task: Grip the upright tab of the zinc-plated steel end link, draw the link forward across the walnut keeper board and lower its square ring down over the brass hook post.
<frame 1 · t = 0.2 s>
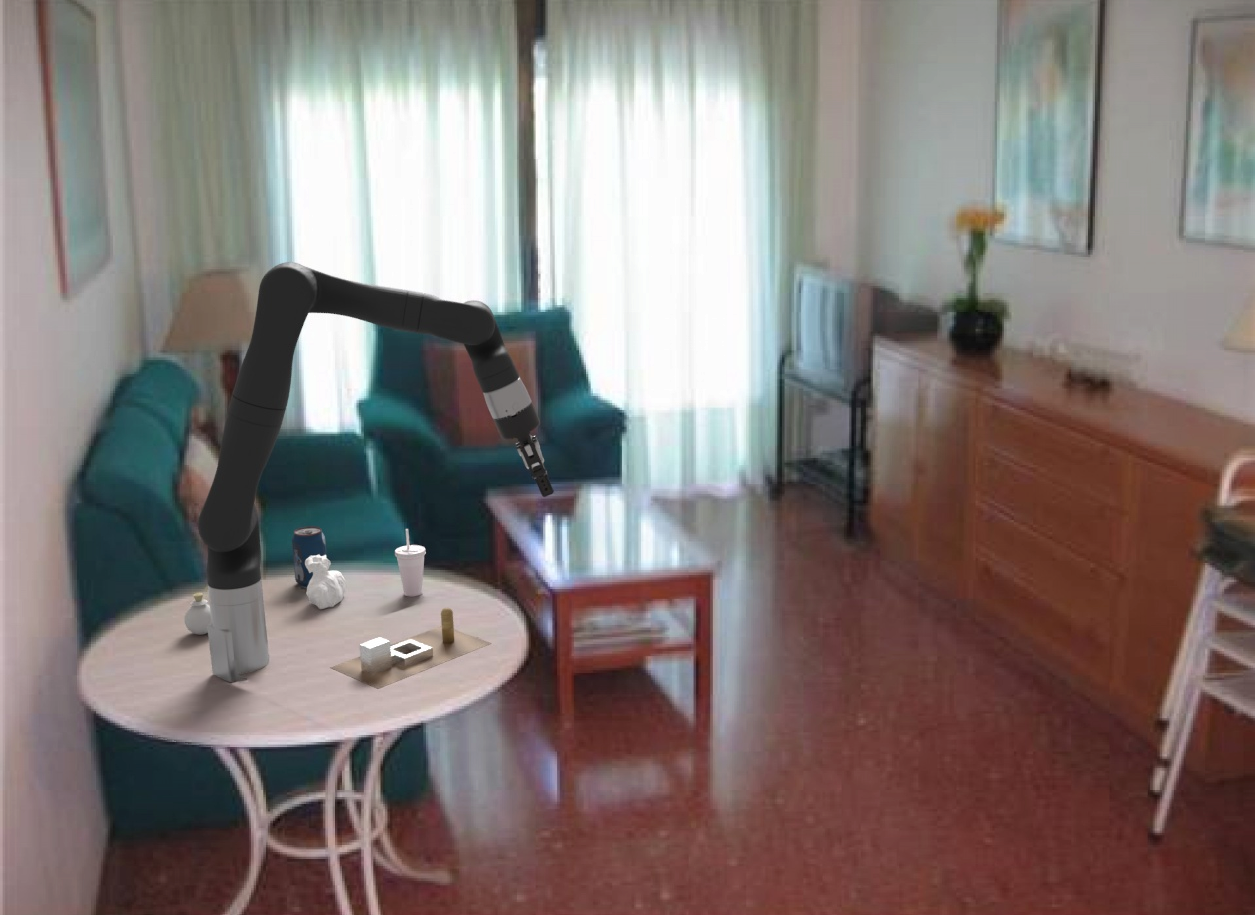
hand: (546, 488, 233), 31 cm above the table, tool tilted 20°, fingers open, 8 cm apart
keeper board: (413, 662, 236), on the table
soda can: (312, 584, 279), on the table
white tied bag: (325, 603, 268), on the table
smoothie: (413, 594, 272), on the table
white potion bottle: (205, 634, 252), on the table
steel link: (408, 656, 235), point 1 cm above the table, touching keeper board
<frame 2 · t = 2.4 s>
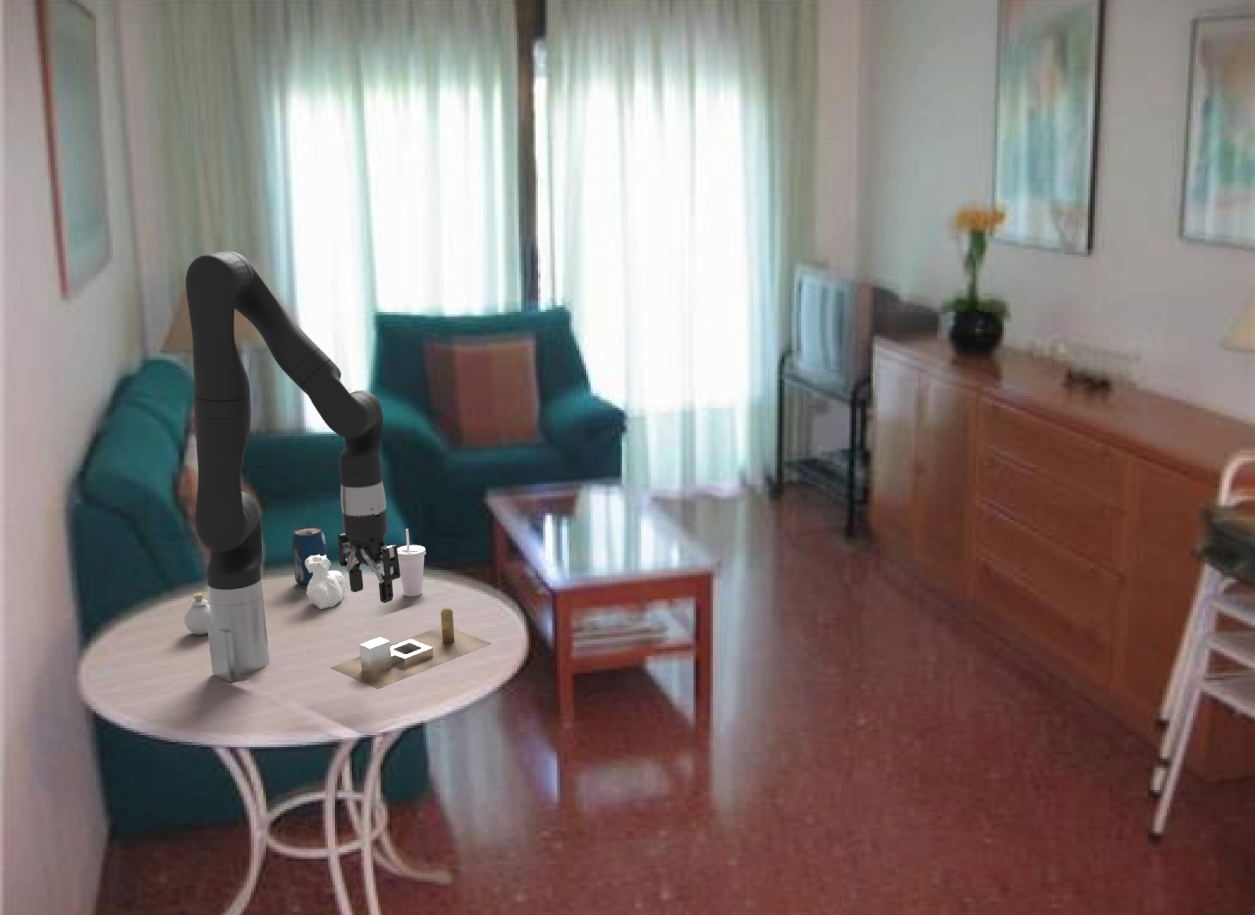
hand: (371, 596, 227), 15 cm above the table, tool pointing down, fingers open, 8 cm apart
nothing on the table moved.
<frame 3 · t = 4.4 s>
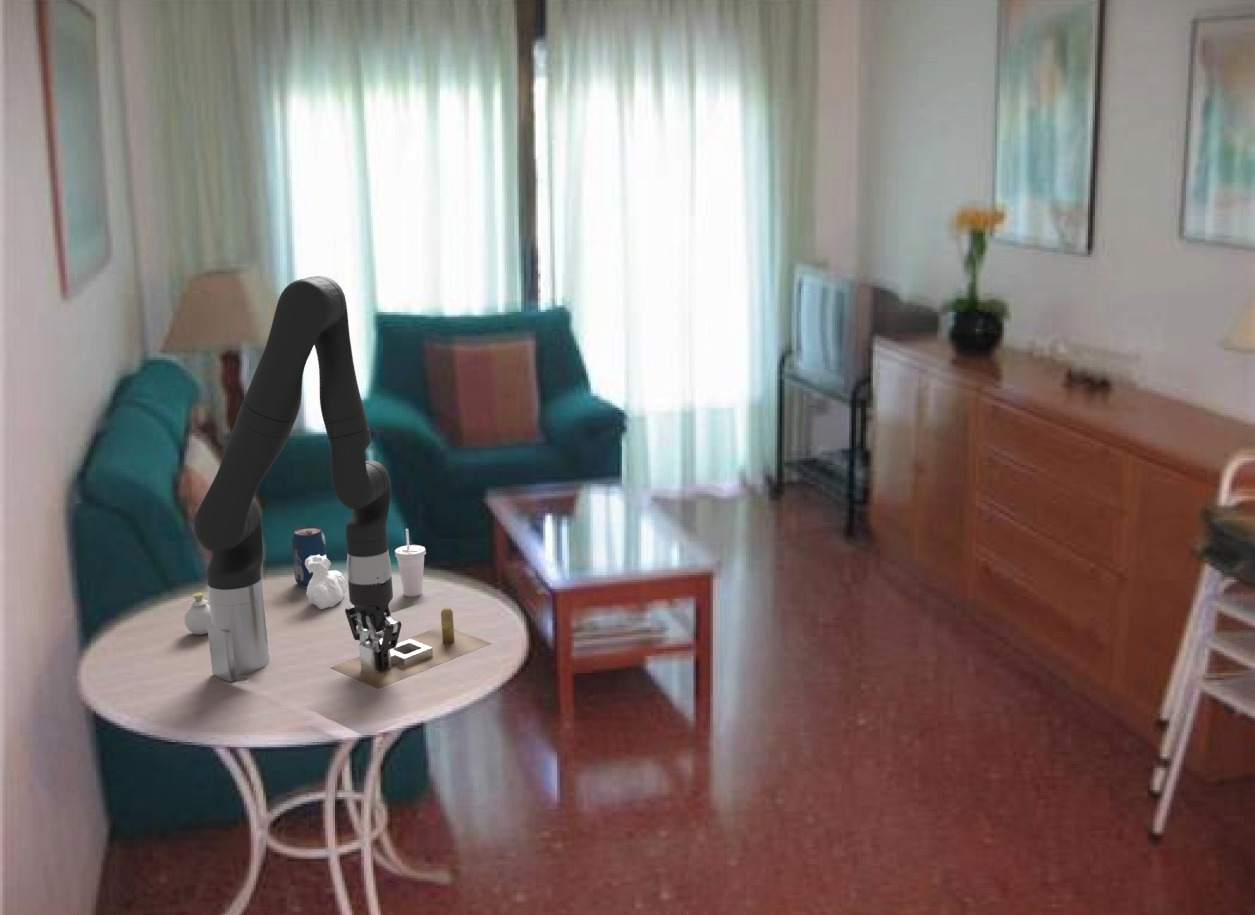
hand: (376, 666, 230), 2 cm above the table, tool pointing down, fingers closed on steel link, 3 cm apart
steel link: (407, 656, 235), point 2 cm above the table, touching gripper, keeper board
everything else where it was.
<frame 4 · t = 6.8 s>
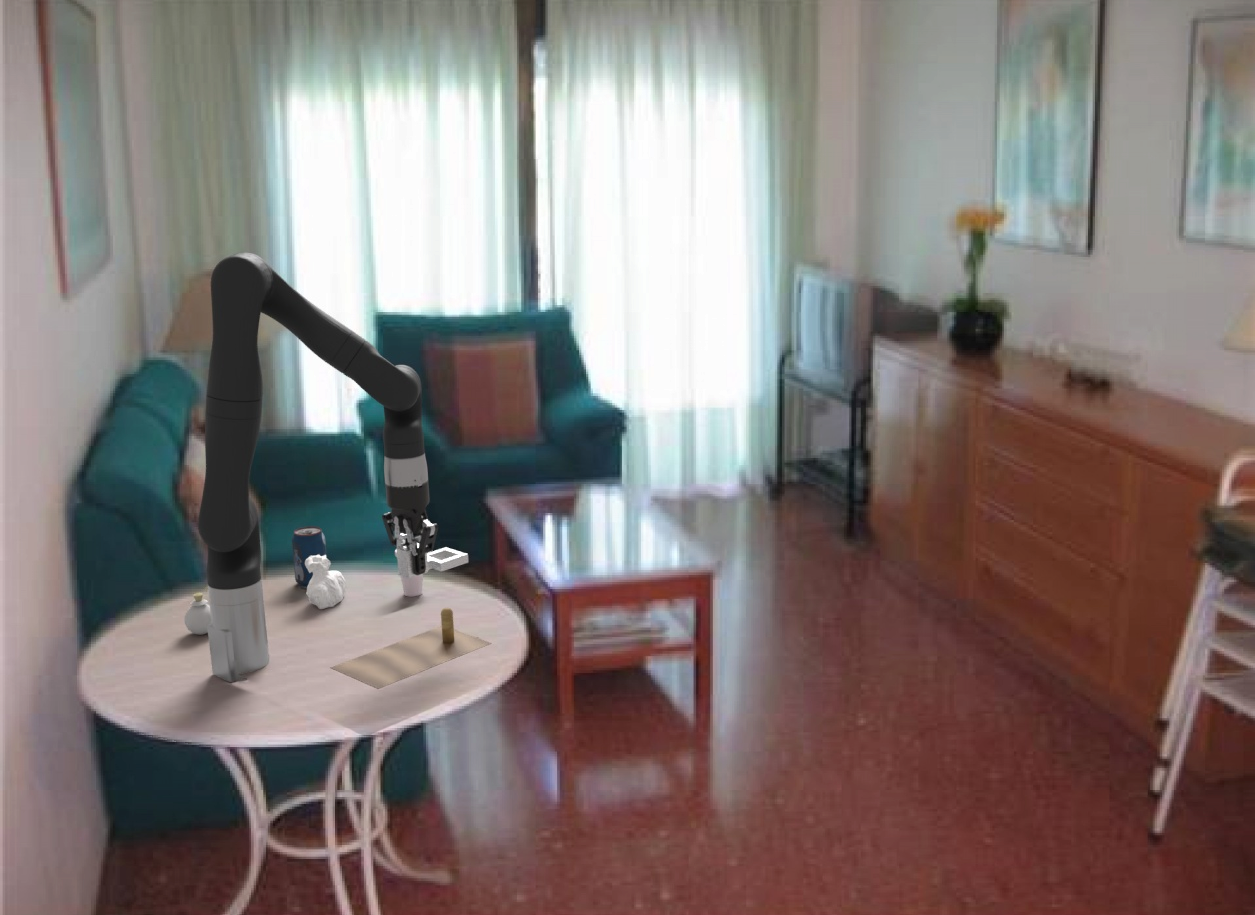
hand: (413, 571, 233), 17 cm above the table, tool pointing down, fingers closed on steel link, 3 cm apart
steel link: (443, 563, 238), point 17 cm above the table, touching gripper
everything else where it was.
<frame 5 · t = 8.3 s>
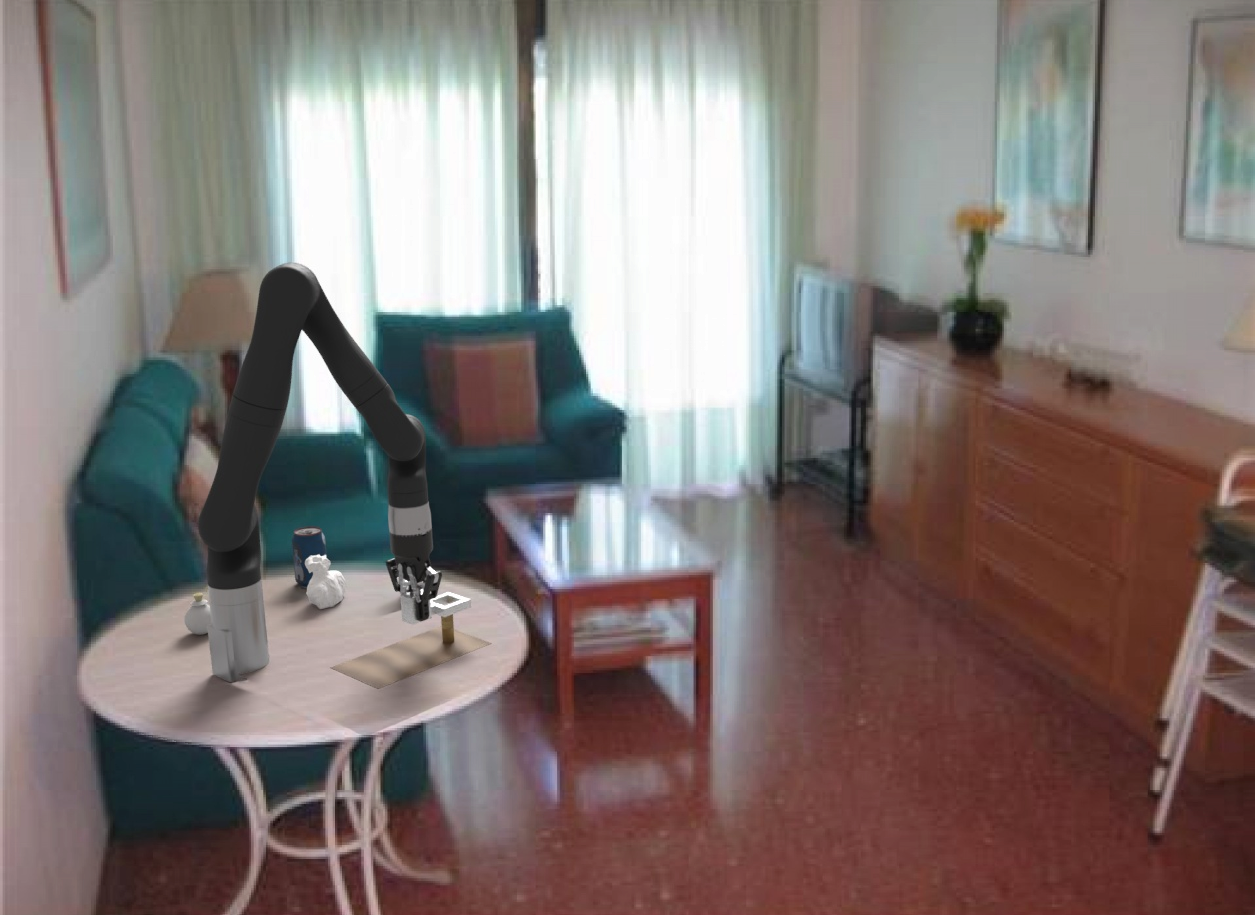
hand: (416, 617, 235), 8 cm above the table, tool pointing down, fingers closed on steel link, 3 cm apart
steel link: (446, 608, 240), point 8 cm above the table, touching gripper
everything else where it was.
when the fingers open (3 cm above the table, at t = 9.7 s): steel link stays where it is, resting on keeper board.
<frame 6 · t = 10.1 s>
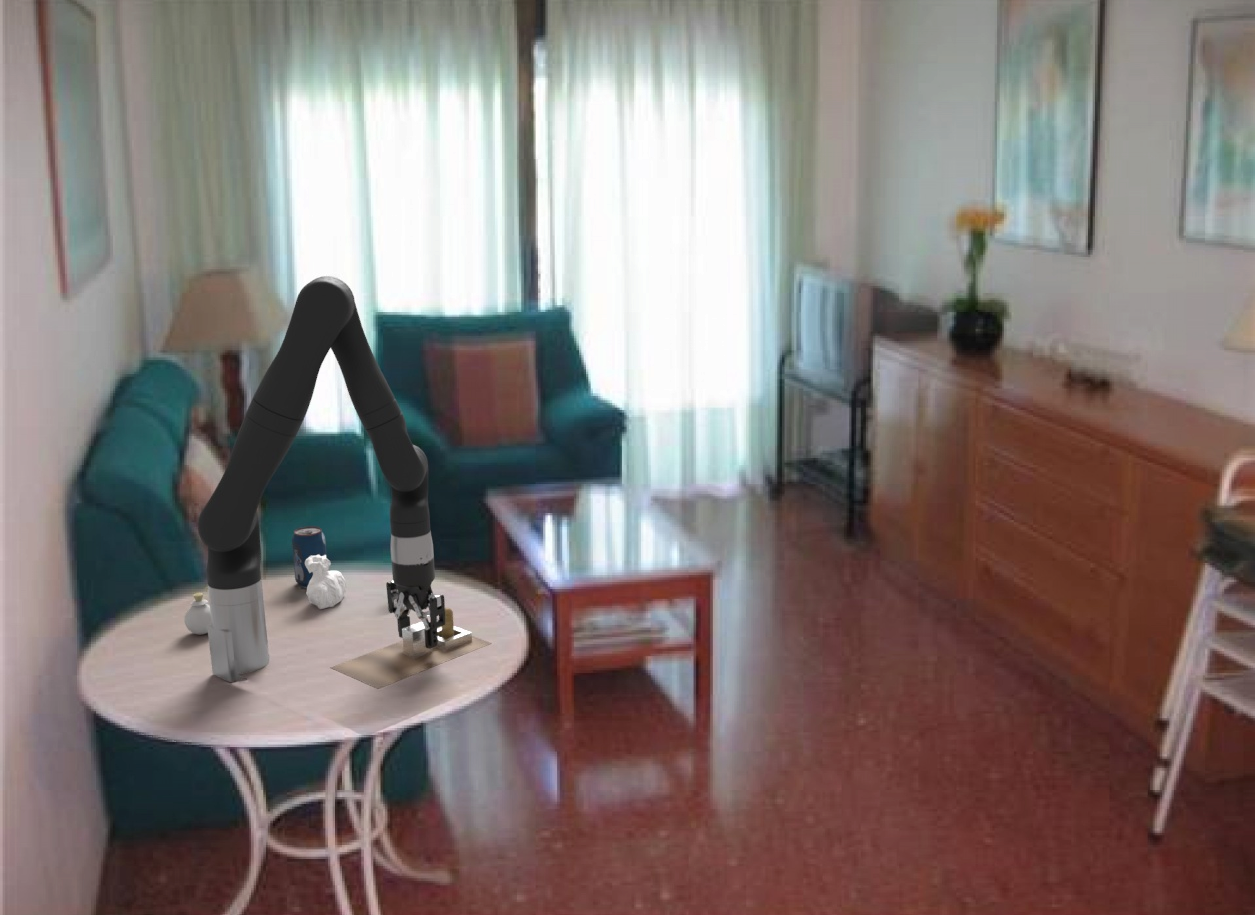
hand: (418, 641, 236), 4 cm above the table, tool pointing down, fingers open, 7 cm apart
steel link: (447, 641, 242), point 1 cm above the table, touching keeper board
everything else where it was.
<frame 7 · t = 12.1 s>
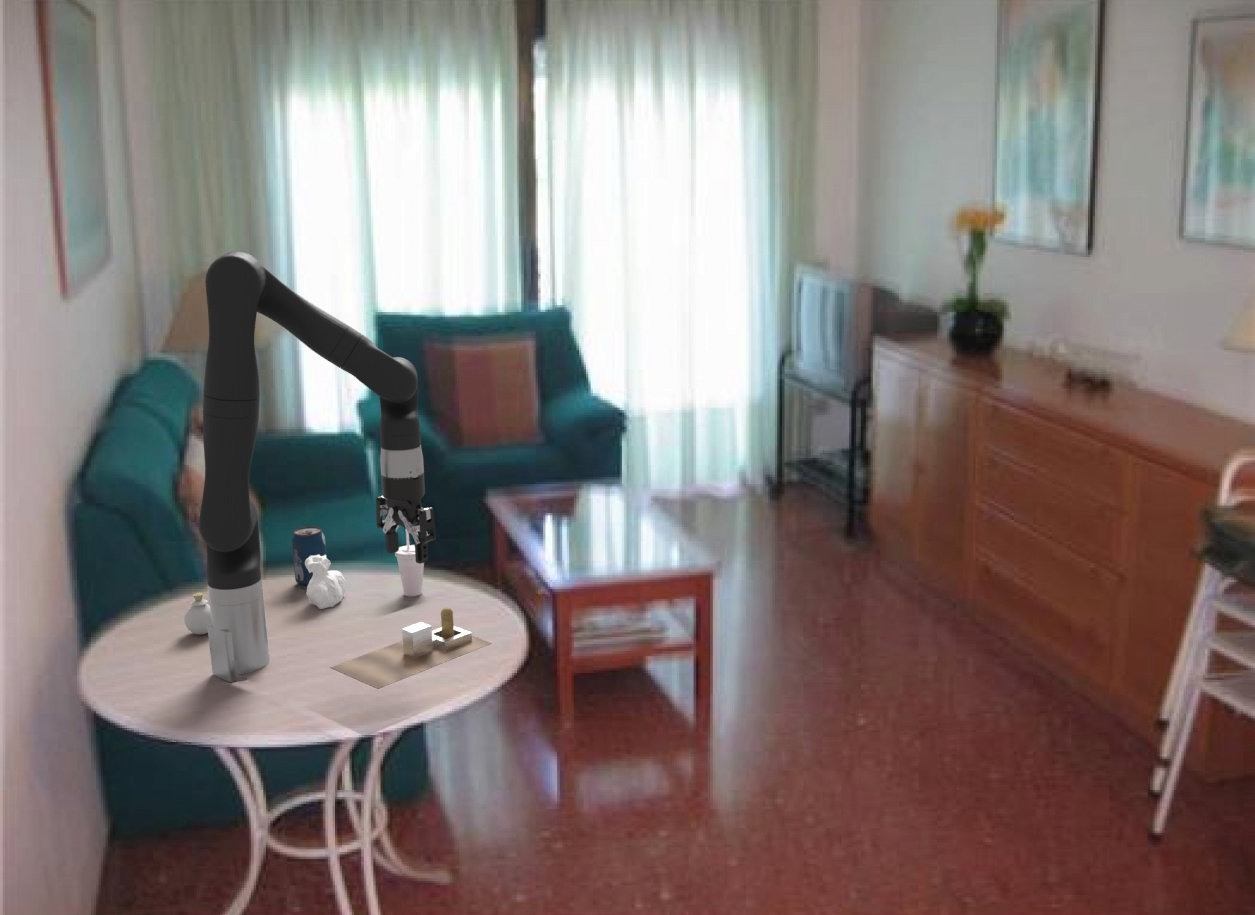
hand: (407, 557, 234), 19 cm above the table, tool pointing down, fingers open, 8 cm apart
nothing on the table moved.
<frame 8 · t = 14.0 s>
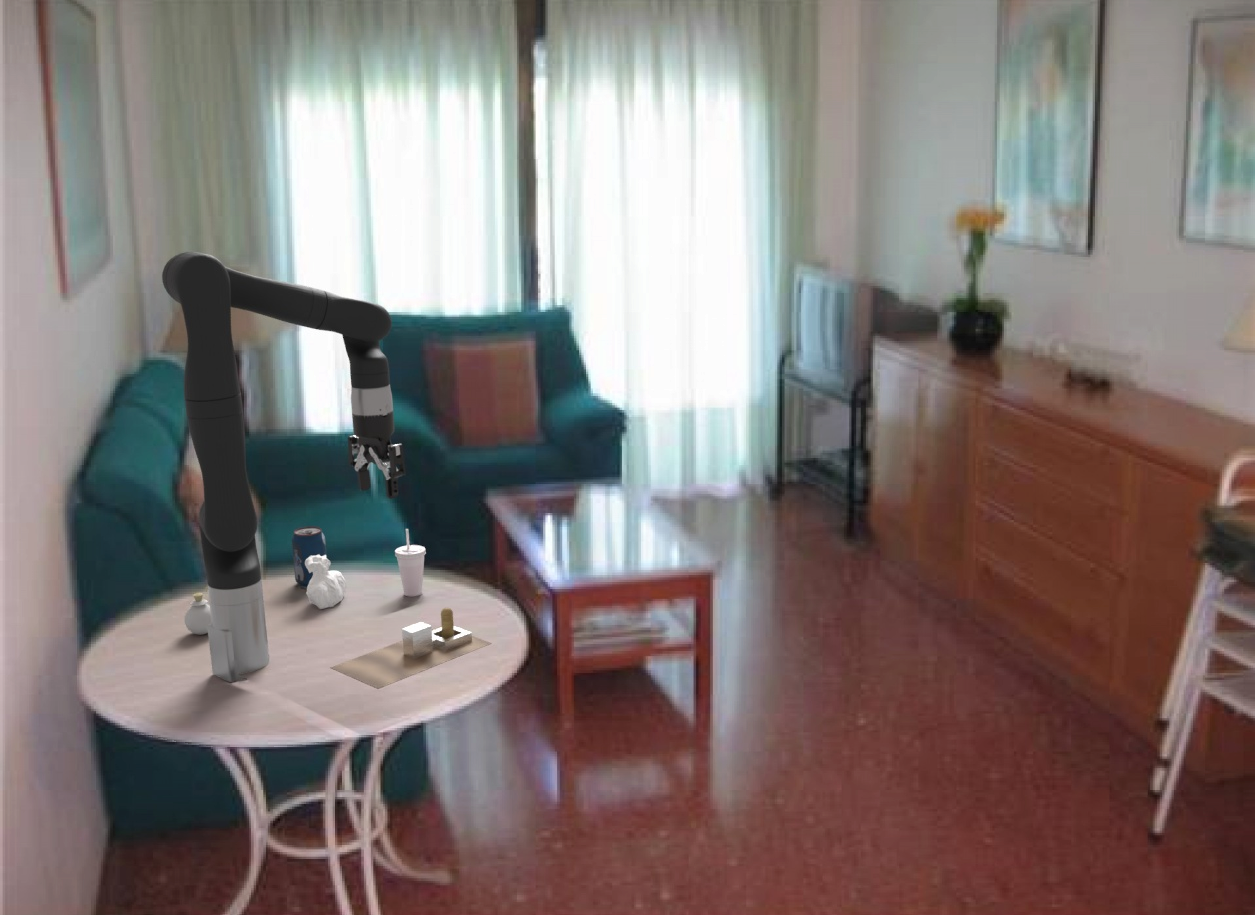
hand: (378, 493, 243), 28 cm above the table, tool pointing down, fingers open, 8 cm apart
nothing on the table moved.
at the end: steel link 0.1 cm from the target spot on the keeper board, point 1.5 cm above the keeper board's base; the gripper is holding nothing; steel link tilted 0° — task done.
